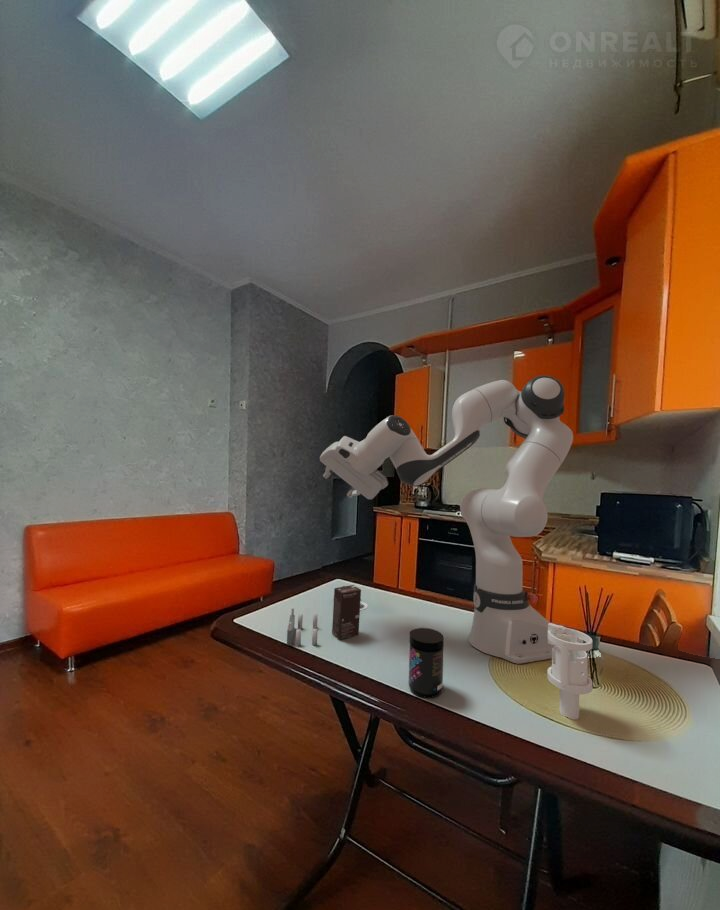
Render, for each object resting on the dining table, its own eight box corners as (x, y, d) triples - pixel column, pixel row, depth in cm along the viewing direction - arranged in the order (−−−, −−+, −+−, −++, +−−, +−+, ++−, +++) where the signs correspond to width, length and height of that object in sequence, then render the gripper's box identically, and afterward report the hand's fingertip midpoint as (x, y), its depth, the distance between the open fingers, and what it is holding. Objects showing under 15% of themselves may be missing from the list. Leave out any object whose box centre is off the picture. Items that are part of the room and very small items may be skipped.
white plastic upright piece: (553, 696, 70) (554, 617, 71) (596, 714, 65) (596, 629, 66) (541, 713, 65) (542, 628, 66) (587, 733, 60) (587, 641, 61)
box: (340, 641, 90) (341, 592, 90) (331, 634, 94) (333, 587, 94) (360, 636, 93) (361, 588, 94) (351, 629, 97) (352, 584, 98)
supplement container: (415, 675, 76) (416, 625, 76) (447, 686, 72) (448, 633, 73) (402, 691, 70) (404, 637, 70) (436, 704, 67) (437, 646, 67)
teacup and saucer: (340, 602, 118) (341, 589, 118) (364, 601, 120) (364, 588, 120) (344, 612, 110) (345, 598, 110) (370, 611, 111) (370, 597, 111)
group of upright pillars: (317, 627, 98) (317, 607, 98) (317, 645, 87) (317, 623, 88) (290, 627, 97) (290, 607, 97) (286, 646, 87) (287, 623, 87)
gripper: (393, 476, 107) (365, 500, 114) (340, 432, 104) (315, 460, 111) (389, 488, 102) (360, 513, 109) (333, 442, 99) (307, 471, 106)
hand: (337, 486), depth 110 cm, fingers open, 8 cm apart
